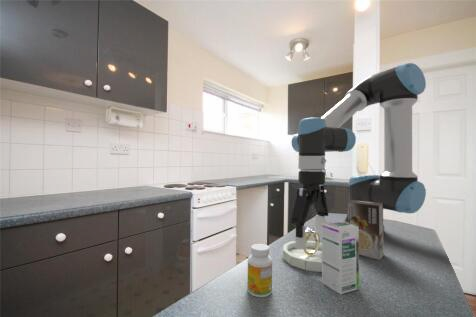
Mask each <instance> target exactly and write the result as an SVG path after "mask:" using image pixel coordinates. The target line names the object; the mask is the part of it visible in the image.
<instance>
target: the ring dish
mask: <svg viewBox="0 0 476 317" xmlns="http://www.w3.org/2000/svg"><path fill="white" fill-rule="evenodd" d="M315 244H316V241H314V240H307V242H306V251H307V252H309V251H313V250H314V248H315ZM282 259H283V260H284V261H285V262H286V263H288V264H289V265H290V266H292V267H294V268H295V267H296V268H298V269H301V270H302V271H303V270H304V271H308V272H309V271H310V272H318V273H322V242H320V244H319V248H318V250H317V252H316V253H315V254H313V256H310V255H307V254H305V253H304V252H303V250H302V249H299V248H296V240H291V241H288V242H287V243H284V244H283V246H282Z"/></svg>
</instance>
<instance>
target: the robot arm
mask: <svg viewBox="0 0 476 317" xmlns="http://www.w3.org/2000/svg"><path fill="white" fill-rule="evenodd" d="M426 84H427V83H426V78H425V75H424V73H423V70H422V69H421V67H419V66H418V65H417V64H415V63H413V62H408V63H405V64H399V65H397V66H395V67H392V68H389V69H386V70H384V71H381V72H378V73H375V74H371V75H369V76H367V77H366V78H364V79H363V80H361V81H360V82H358V83H357V84H355V86H353V87H352V88H351V89H349V90H348V91H347V92H346V93H345V95H344V98H342V100H340V101H339V102H338V103H336V104H335V105H334V106H333V107H332V108H330V109H329V110H328V111H327V112H326V113H325V114H324V115H322V116H321V117H306V118H302V119H301V120H300V121H299V123H298V132H297V133H296V134H294V135H293V136H292V138H291V146H292V149H293V150H294V151H295V152H296V153H298V166H297V167H298V169H299V170H300V171H298V183H299V184H301V185H302V188H301V187H298V188H297V189H296V197H295V200H294V201H295V203H294V205H293V211H292V216H291V219H290V222H291V224H292V225H295V241H296V248H299V249H303V250H306V236H307V234H306V229H307V225H306V220H307V218H308V214H309V211H310V210H311V209H310V208H311V206H314V209H315V212H316V215H315V231H316V232H318V234H319V238H320V237H321V238H322V223H323V222H326V217H328V216H329V209H328V205H327V204H328V203H327V199H326V193H325V185H324V184H326V172H325V171H323V170H325V168H326V164H325V163H327V159H326V157H325V156H326V153H328V152H329V153H330V152H331V153H332V152H338V153H343V152H348V151H351V150H352V149H353V148H354V147H355V145H356V142H357V140H356V138H357V136H356V134H355V133H354V131H353V130H351V129H350V128H344V127H342V125H344V124H345V123H346V122H347V121H349V119H351V118H352V117H353V115H355V114H356V113H357V112H361V111H363V110H365V109H366V108H367V107H368V106H369V107H370V106H372V105H375V104H379V106H380V107H381V108H383V111H384V112H383V113H384V114H383V115H384V116H383V118H384V119H383V120H384V122H383V123H384V124H383V126H384V134H383V135H384V136H383V137H384V138H383V141H384V145H383V147H384V149H383V150H384V152H383V153H384V154H383V155H384V160H383V161H384V166H383V167H384V168H383V170H384V171H382V172H381V173H380V174H379V175H378V174H372V175H369V174H368V175H355V176H351V177H350V178H349V180H348V202H350V201H352V200H358V201H367V202H375V203H383V210H387V211H392V212H397V213H401V214H402V213H405V214H414V213H417V212H418V211H419V210H420V209H421V208H422V207H423V205H424V203H425V200H426V195H427V190H426V188H425V185H424V183H423V182H421V181H419V180H418V175H417V174H416V173H414V172H413V106H414V105H415V104H416V103H418V95H421V94H423V92H425V90H426ZM344 221H345V222H348V212H347V213H346V216H345V218H344ZM384 233H385V224H384V223H383V234H384Z"/></svg>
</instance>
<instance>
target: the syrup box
mask: <svg viewBox="0 0 476 317" xmlns="http://www.w3.org/2000/svg"><path fill="white" fill-rule="evenodd" d="M321 243H322V272H321V282H322V283H323V284H324V285H325V286H327V287H329V288H330V289H331V290H333V291H334V292H336V294H339V295H340V296H341V295H344V294H347V293H350V292H353V291H357V290H359V289H360V255H359V227H358V226H357V225H355V224H352V223H349V222H345V220H340V219H339V220H333V221H327V222H326V221H325V222H323V223H322V237H321Z"/></svg>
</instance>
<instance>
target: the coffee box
mask: <svg viewBox="0 0 476 317" xmlns="http://www.w3.org/2000/svg"><path fill="white" fill-rule="evenodd" d="M347 213H348V222H349V223H352V224H355V225H357V226H358V227H359V256H363V257H367V258H371V259H375V260H378V261H381V259H382V258H383V256H384V255H385V254H384V233H383V224H384V209H383V203H375V202H367V201H358V200H352V201H350V202H349V201H348V202H347Z"/></svg>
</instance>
